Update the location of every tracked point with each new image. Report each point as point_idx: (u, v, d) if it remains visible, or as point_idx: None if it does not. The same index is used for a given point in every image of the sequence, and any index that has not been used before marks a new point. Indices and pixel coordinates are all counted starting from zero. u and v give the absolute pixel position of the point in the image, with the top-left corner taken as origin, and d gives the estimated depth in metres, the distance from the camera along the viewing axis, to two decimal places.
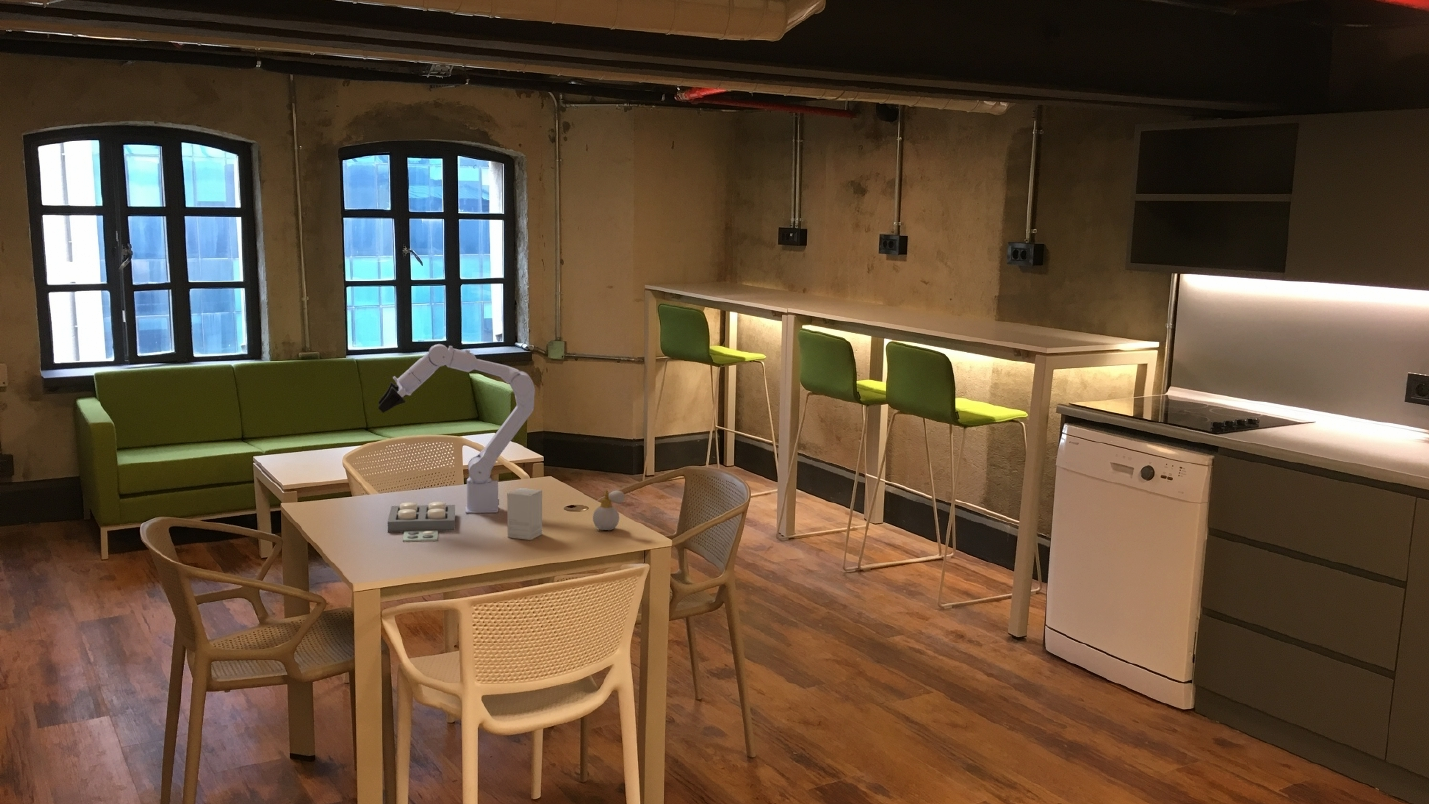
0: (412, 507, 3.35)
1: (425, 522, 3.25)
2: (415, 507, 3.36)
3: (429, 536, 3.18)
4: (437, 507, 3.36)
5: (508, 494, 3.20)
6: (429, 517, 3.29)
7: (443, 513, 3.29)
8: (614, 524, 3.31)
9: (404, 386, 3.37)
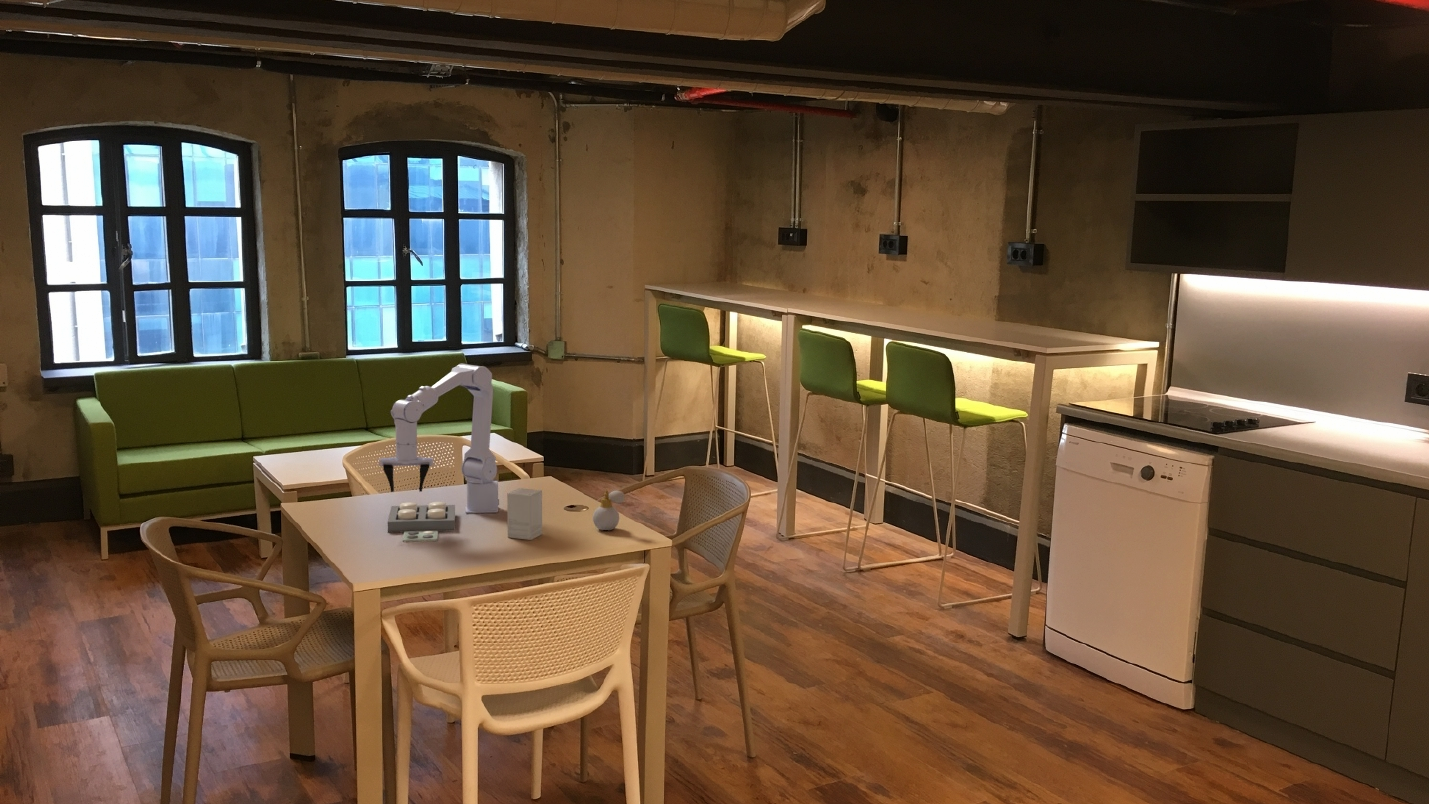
0: (412, 507, 3.35)
1: (425, 522, 3.25)
2: (415, 507, 3.36)
3: (429, 536, 3.18)
4: (437, 507, 3.36)
5: (508, 494, 3.20)
6: (429, 517, 3.29)
7: (443, 513, 3.29)
8: (614, 524, 3.31)
9: (416, 457, 3.27)
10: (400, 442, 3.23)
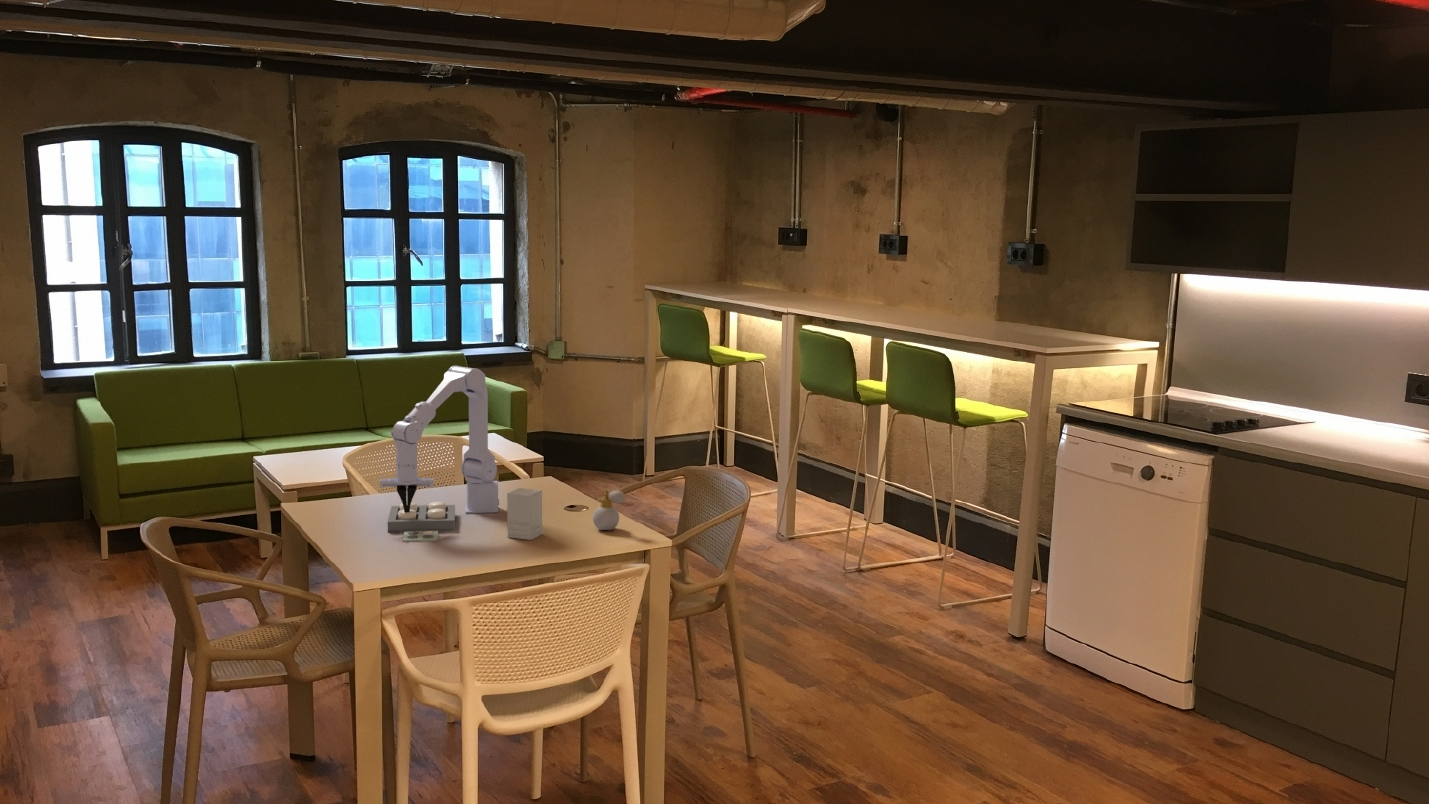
0: (412, 507, 3.35)
1: (425, 522, 3.25)
2: (415, 507, 3.36)
3: (429, 536, 3.18)
4: (437, 507, 3.36)
5: (508, 494, 3.20)
6: (429, 517, 3.29)
7: (443, 513, 3.29)
8: (614, 524, 3.31)
9: (417, 478, 3.27)
10: (400, 463, 3.24)
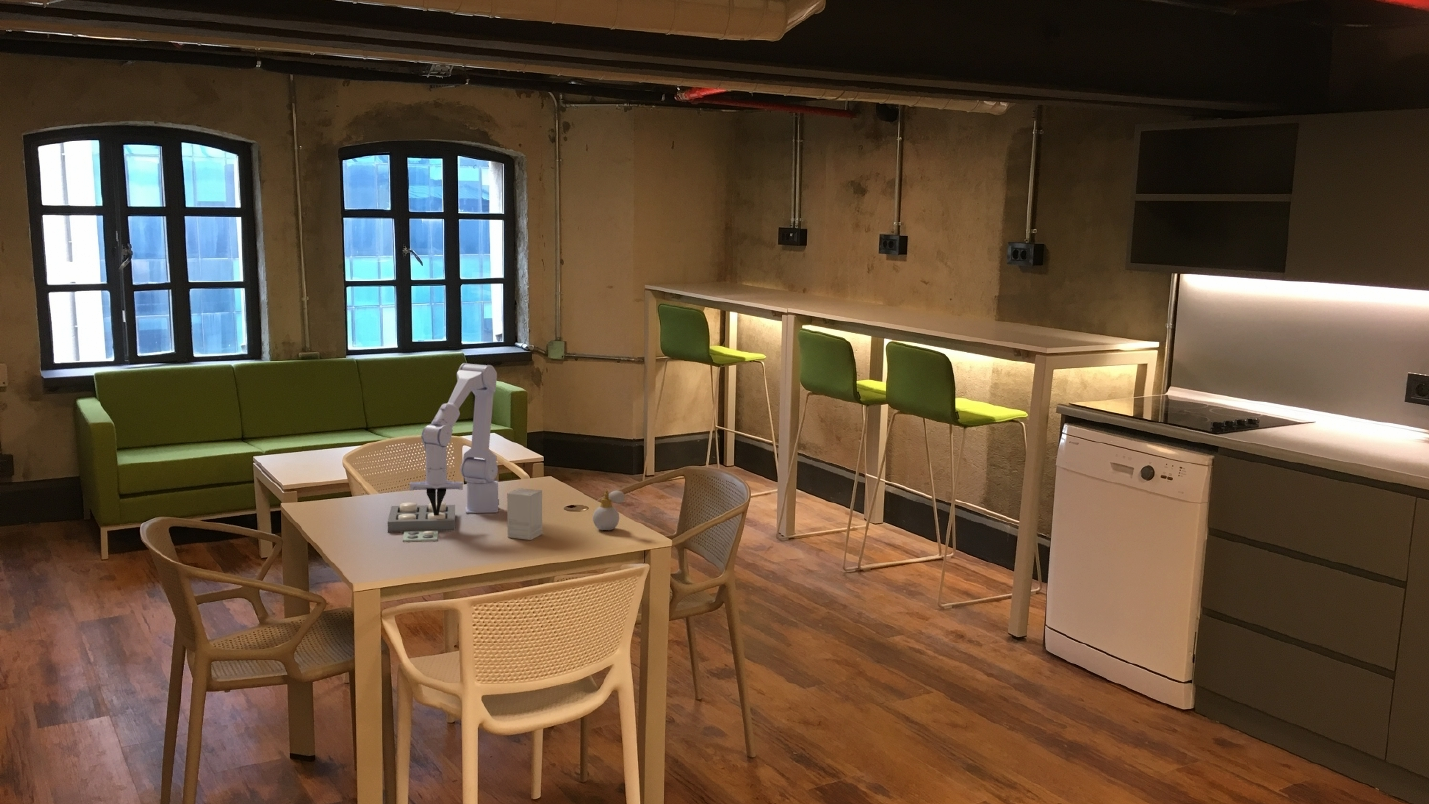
0: (412, 507, 3.35)
1: (425, 522, 3.25)
2: (415, 507, 3.36)
3: (429, 536, 3.18)
4: None
5: (508, 494, 3.20)
6: None
7: (443, 517, 3.29)
8: (614, 524, 3.31)
9: (446, 481, 3.29)
10: (433, 467, 3.25)
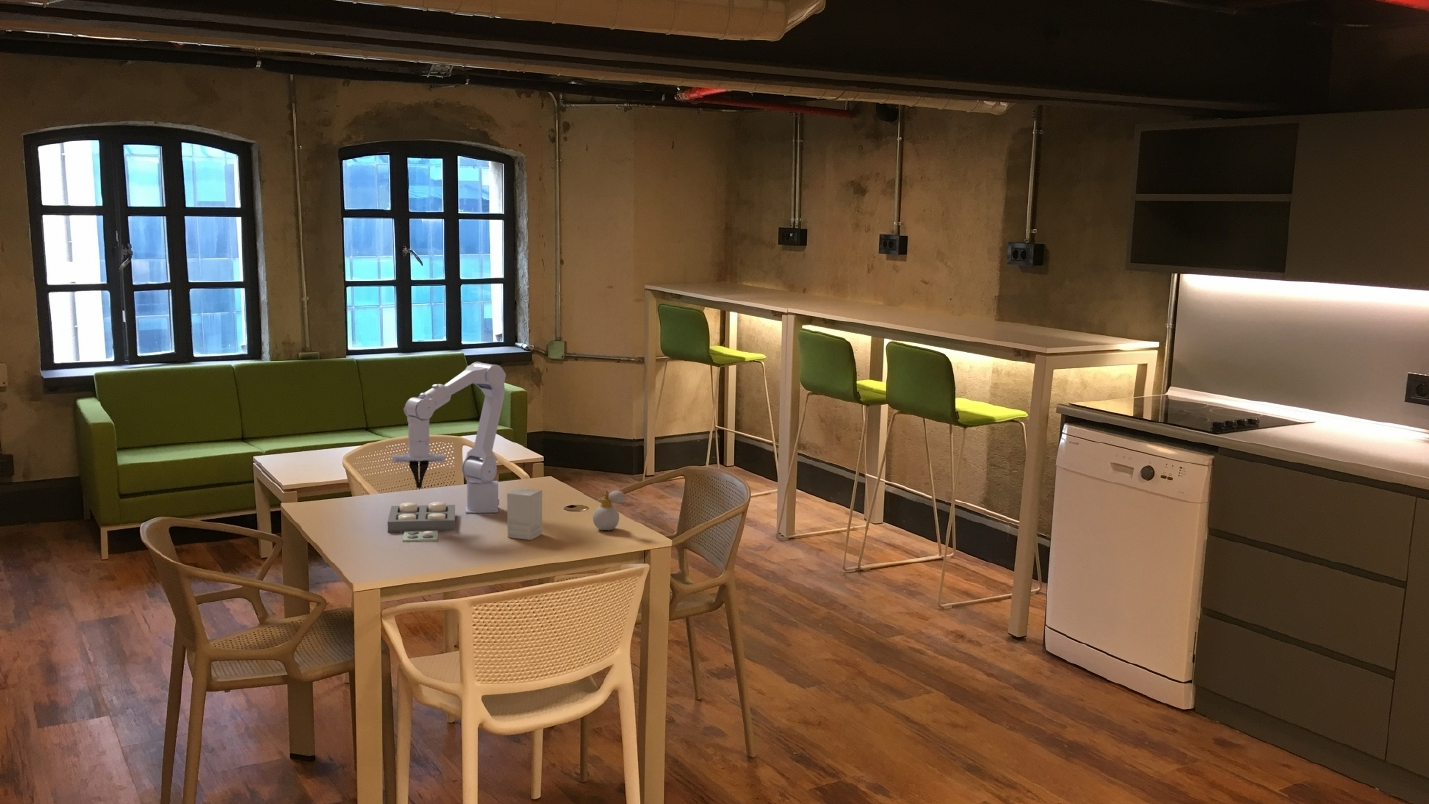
0: (412, 507, 3.35)
1: (425, 522, 3.25)
2: (415, 507, 3.36)
3: (429, 536, 3.18)
4: (437, 507, 3.36)
5: (508, 494, 3.20)
6: None
7: (443, 518, 3.30)
8: (614, 524, 3.31)
9: (429, 454, 3.32)
10: (412, 439, 3.28)
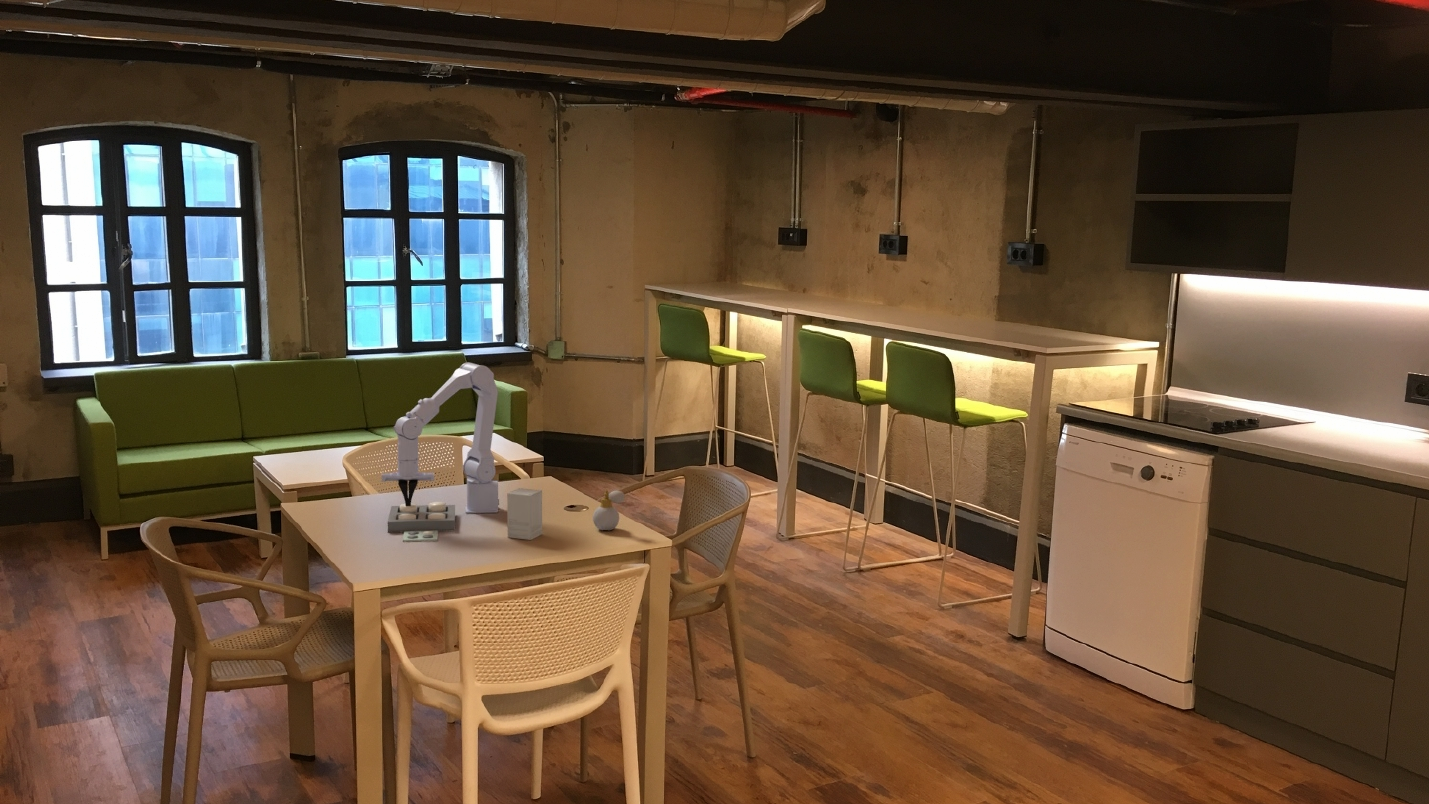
0: (412, 508, 3.35)
1: (425, 522, 3.25)
2: (415, 508, 3.36)
3: (429, 536, 3.18)
4: (437, 507, 3.36)
5: (508, 494, 3.20)
6: None
7: (443, 518, 3.30)
8: (614, 524, 3.31)
9: (418, 473, 3.35)
10: (400, 458, 3.32)
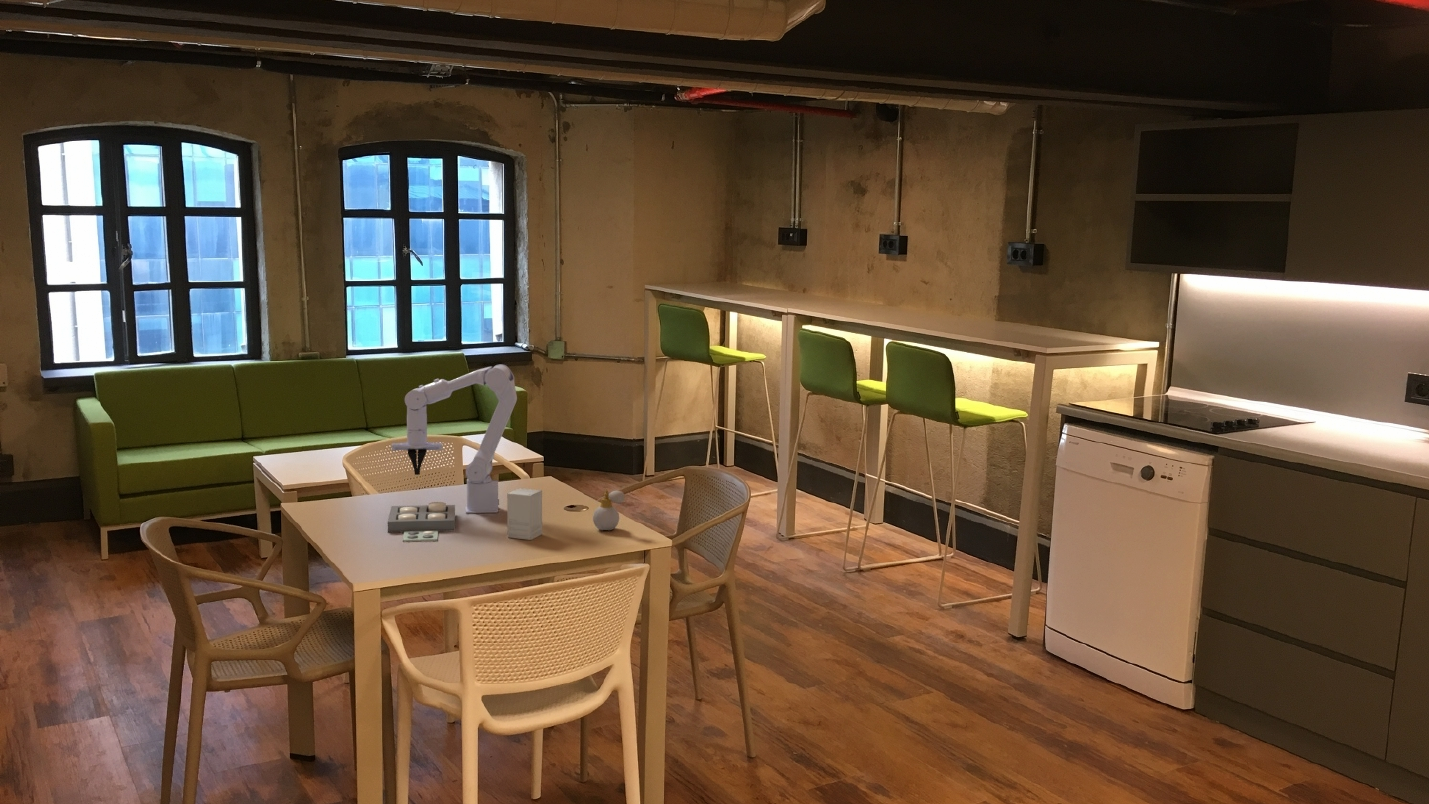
0: (412, 511, 3.35)
1: (425, 522, 3.25)
2: (415, 511, 3.36)
3: (429, 536, 3.18)
4: (437, 507, 3.36)
5: (508, 494, 3.20)
6: None
7: (443, 518, 3.30)
8: (614, 524, 3.31)
9: (426, 442, 3.48)
10: (407, 427, 3.46)
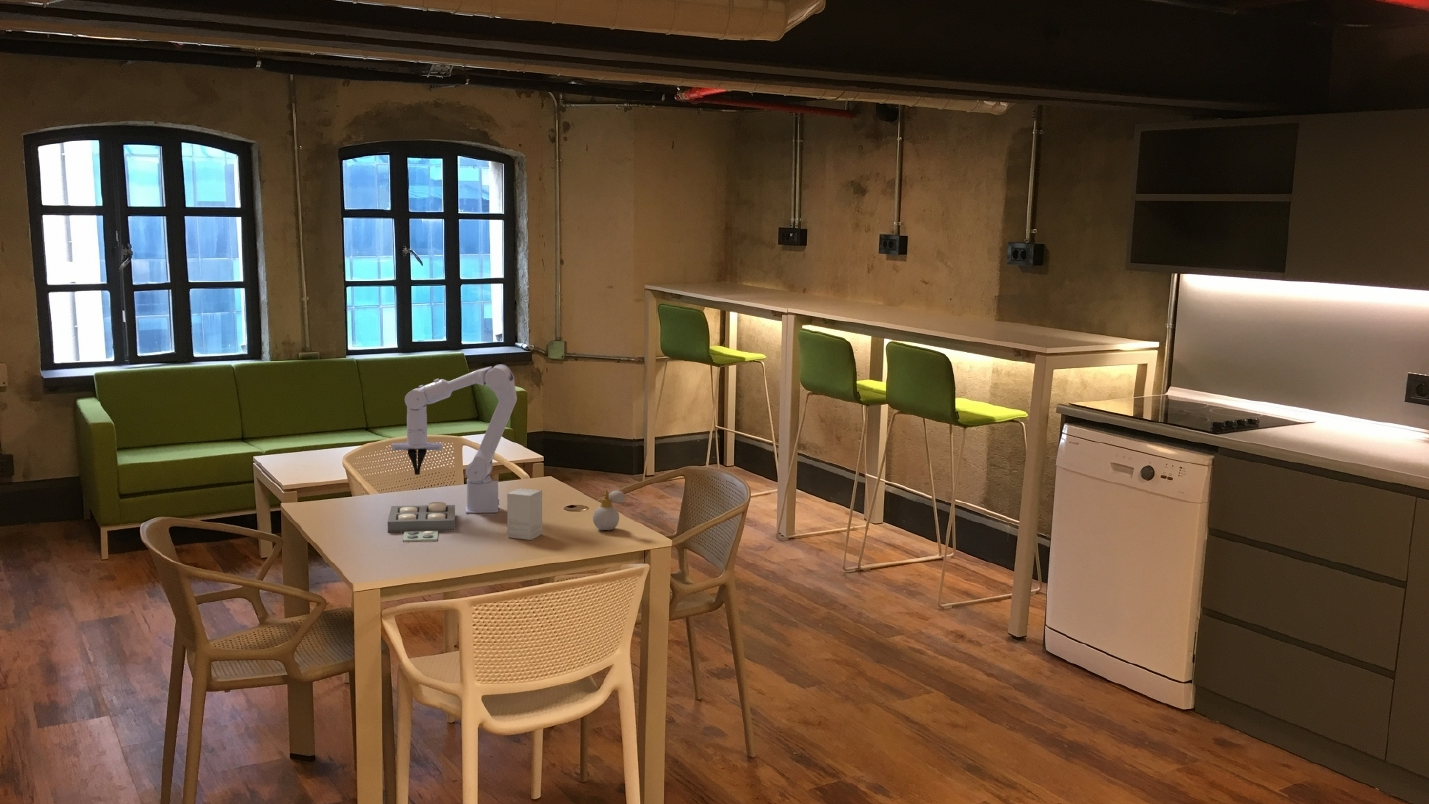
0: (412, 511, 3.35)
1: (425, 522, 3.25)
2: (415, 511, 3.36)
3: (429, 536, 3.18)
4: (437, 507, 3.36)
5: (508, 494, 3.20)
6: None
7: (443, 518, 3.30)
8: (614, 524, 3.31)
9: (426, 442, 3.48)
10: (407, 427, 3.46)
